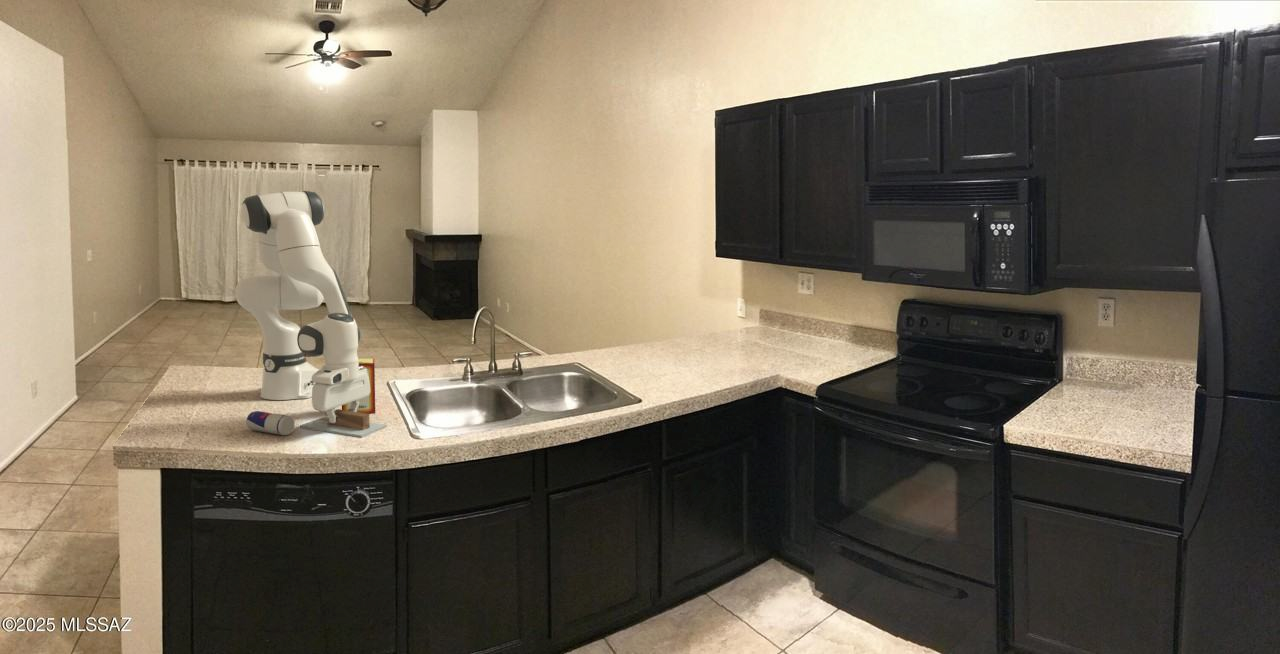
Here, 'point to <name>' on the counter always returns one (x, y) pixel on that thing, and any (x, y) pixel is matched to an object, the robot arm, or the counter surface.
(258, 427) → the energy drink
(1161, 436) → the counter surface
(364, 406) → the baking soda box
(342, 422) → the block
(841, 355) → the counter surface
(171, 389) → the counter surface
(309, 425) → the rest mat
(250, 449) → the counter surface
